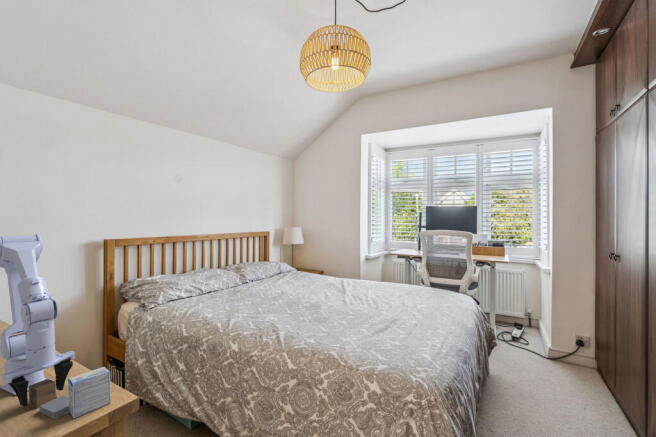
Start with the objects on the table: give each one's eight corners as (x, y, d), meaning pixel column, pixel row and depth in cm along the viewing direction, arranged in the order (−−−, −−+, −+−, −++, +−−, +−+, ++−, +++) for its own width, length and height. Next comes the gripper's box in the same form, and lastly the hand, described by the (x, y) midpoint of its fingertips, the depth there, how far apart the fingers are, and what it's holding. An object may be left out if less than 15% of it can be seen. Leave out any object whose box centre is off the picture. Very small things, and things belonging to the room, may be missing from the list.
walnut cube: (29, 405, 82) (28, 386, 82) (48, 396, 86) (47, 378, 86) (37, 408, 81) (36, 389, 81) (55, 400, 84) (55, 381, 84)
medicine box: (105, 397, 85) (104, 365, 85) (111, 403, 82) (110, 370, 82) (68, 412, 79) (67, 378, 79) (73, 419, 76) (72, 383, 76)
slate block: (39, 413, 79) (39, 405, 79) (63, 402, 84) (63, 395, 84) (54, 421, 76) (54, 412, 76) (78, 409, 81) (77, 401, 81)
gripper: (11, 360, 75) (13, 417, 75) (80, 338, 88) (82, 386, 88) (-3, 355, 78) (-1, 409, 78) (66, 334, 91) (68, 381, 91)
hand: (42, 397), depth 83 cm, fingers open, 7 cm apart
